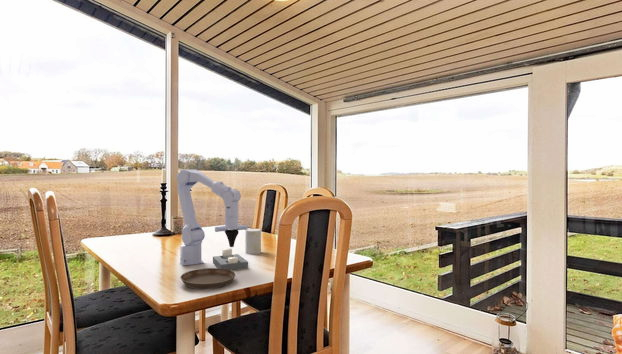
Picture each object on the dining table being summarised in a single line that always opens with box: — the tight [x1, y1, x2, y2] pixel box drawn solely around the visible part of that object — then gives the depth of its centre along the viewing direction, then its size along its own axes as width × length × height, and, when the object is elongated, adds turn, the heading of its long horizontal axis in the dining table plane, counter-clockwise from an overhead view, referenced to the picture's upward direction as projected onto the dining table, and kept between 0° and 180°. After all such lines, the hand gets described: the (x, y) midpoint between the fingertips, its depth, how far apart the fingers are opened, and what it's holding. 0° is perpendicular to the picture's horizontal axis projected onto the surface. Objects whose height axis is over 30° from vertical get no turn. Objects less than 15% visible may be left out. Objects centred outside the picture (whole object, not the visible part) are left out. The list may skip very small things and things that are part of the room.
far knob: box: [221, 247, 233, 259], centre depth 174 cm, size 4×4×4 cm
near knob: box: [228, 257, 238, 264], centre depth 166 cm, size 4×4×4 cm
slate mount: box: [212, 253, 249, 271], centre depth 170 cm, size 12×16×3 cm
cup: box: [244, 228, 262, 255], centre depth 197 cm, size 8×8×12 cm
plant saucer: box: [180, 267, 236, 290], centre depth 145 cm, size 21×21×3 cm
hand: (231, 246), depth 167 cm, fingers closed
